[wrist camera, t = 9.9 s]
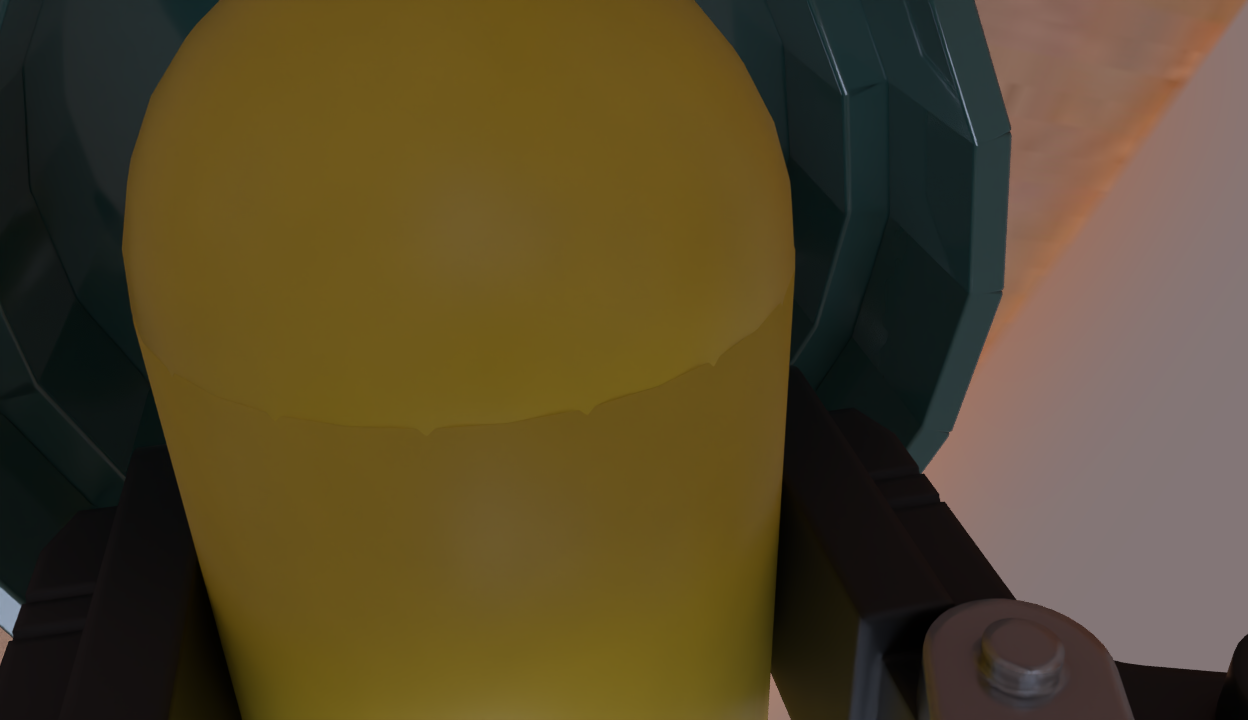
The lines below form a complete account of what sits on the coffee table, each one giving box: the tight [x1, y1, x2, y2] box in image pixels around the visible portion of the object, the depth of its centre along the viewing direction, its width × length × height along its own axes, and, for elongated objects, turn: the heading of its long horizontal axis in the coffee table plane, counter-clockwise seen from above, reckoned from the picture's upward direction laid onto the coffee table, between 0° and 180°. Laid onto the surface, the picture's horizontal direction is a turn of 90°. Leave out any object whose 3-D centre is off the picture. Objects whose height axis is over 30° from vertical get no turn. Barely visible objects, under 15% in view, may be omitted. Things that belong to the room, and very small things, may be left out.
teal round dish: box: [0, 0, 1012, 638], centre depth 16 cm, size 14×14×6 cm
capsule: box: [122, 0, 795, 720], centre depth 10 cm, size 11×5×5 cm
